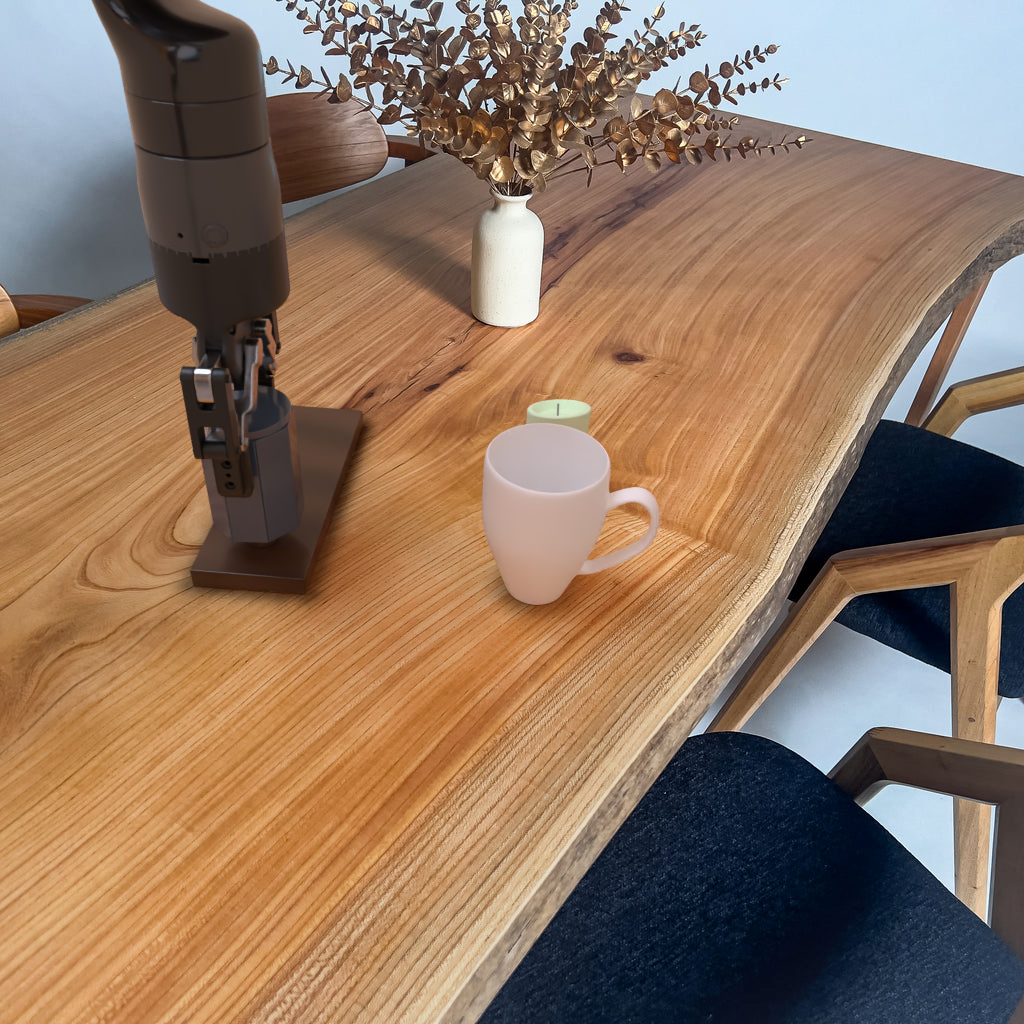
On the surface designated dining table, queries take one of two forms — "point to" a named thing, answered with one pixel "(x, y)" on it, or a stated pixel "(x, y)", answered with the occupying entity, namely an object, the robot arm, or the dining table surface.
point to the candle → (561, 413)
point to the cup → (263, 475)
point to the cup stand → (295, 554)
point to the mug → (551, 508)
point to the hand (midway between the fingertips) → (250, 457)
